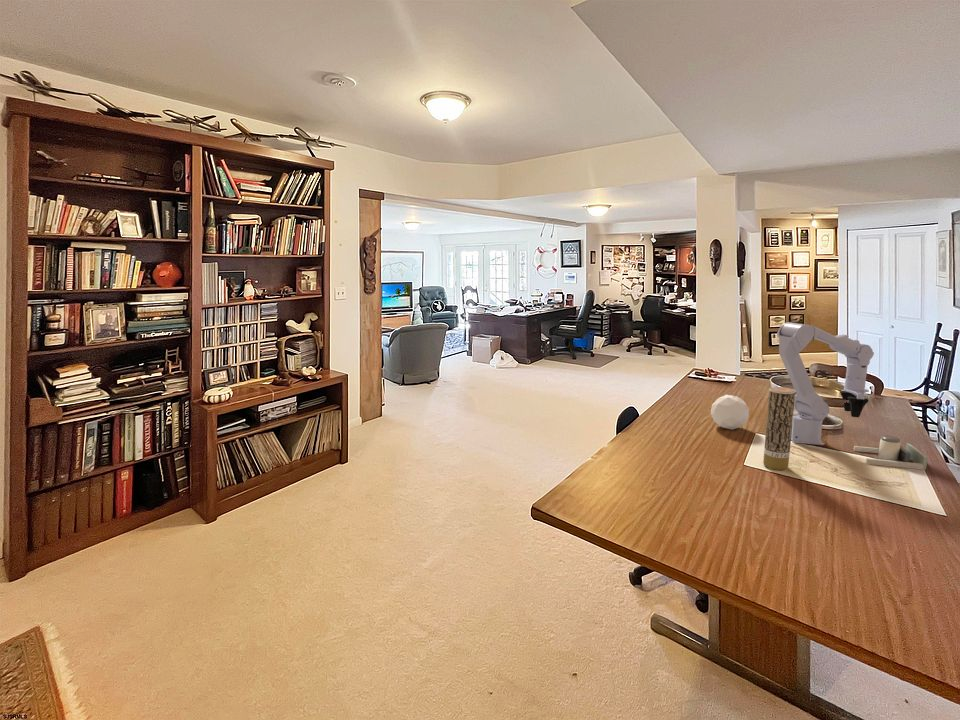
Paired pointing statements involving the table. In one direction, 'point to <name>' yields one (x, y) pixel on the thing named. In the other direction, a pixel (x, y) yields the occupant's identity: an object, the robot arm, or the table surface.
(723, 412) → the geodesic sphere
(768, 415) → the paper tube
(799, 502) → the table surface
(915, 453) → the lane
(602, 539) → the table surface
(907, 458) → the pusher plate
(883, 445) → the jar
